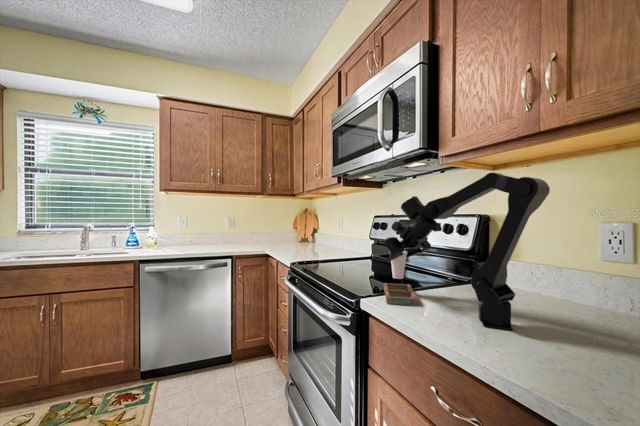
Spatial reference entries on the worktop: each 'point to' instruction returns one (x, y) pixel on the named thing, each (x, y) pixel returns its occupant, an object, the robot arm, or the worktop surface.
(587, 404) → the worktop surface
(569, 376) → the worktop surface
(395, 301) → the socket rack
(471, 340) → the worktop surface
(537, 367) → the worktop surface
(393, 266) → the smoothie
